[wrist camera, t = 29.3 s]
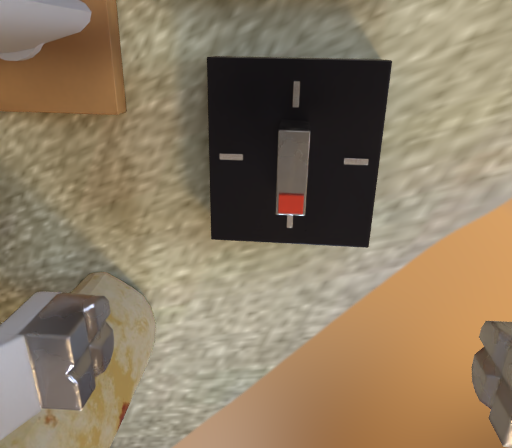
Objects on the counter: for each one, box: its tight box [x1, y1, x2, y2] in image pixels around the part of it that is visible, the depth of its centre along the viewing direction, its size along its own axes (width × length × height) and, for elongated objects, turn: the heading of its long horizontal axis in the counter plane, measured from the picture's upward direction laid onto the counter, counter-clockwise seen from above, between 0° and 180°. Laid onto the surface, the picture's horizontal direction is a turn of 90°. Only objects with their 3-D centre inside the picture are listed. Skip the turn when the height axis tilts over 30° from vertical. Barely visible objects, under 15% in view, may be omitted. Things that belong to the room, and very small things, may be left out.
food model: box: [0, 272, 156, 448], centre depth 25 cm, size 10×7×20 cm
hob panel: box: [207, 56, 392, 247], centre depth 27 cm, size 11×10×3 cm
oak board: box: [0, 0, 126, 115], centre depth 26 cm, size 10×12×2 cm
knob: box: [275, 120, 311, 216], centre depth 24 cm, size 4×2×4 cm, turn 179°
